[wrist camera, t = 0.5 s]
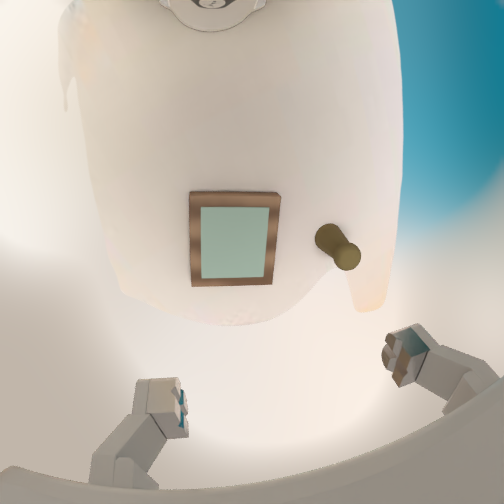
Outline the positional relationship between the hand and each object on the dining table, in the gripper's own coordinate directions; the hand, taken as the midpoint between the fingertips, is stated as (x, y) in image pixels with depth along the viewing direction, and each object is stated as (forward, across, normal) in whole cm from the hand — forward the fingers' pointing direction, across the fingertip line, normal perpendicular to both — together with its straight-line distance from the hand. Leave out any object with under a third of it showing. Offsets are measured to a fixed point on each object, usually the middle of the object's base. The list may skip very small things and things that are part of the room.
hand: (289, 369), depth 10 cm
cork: (+45, -21, +16) cm, 52 cm away
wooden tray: (+45, -1, +13) cm, 47 cm away
